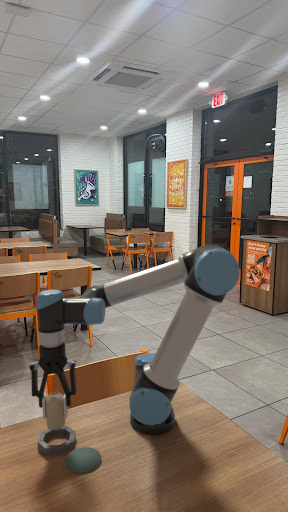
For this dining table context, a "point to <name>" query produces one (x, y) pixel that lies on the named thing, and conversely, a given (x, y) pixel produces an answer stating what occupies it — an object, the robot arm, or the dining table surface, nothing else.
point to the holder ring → (56, 448)
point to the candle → (55, 411)
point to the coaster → (83, 460)
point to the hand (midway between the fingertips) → (55, 415)
